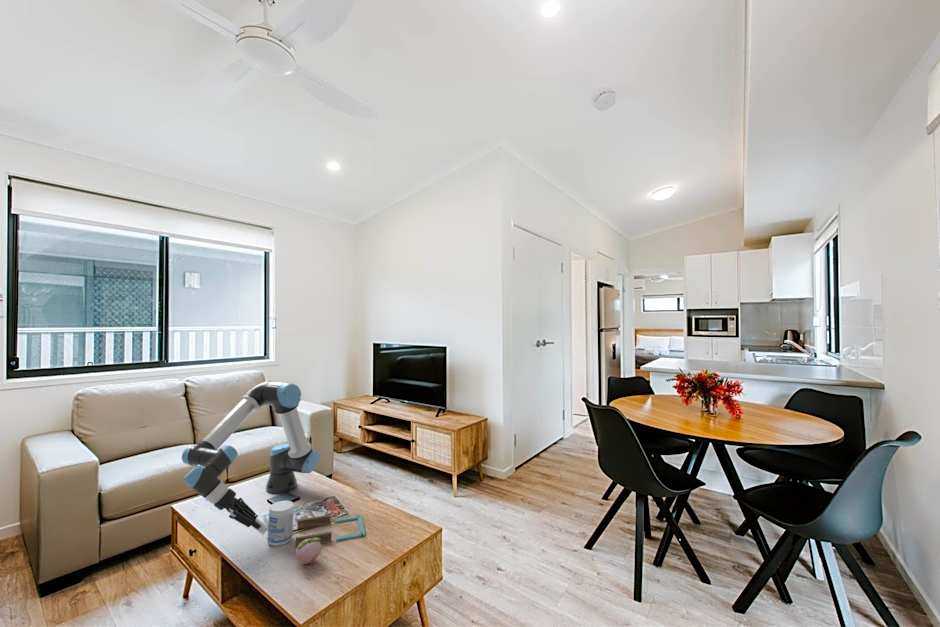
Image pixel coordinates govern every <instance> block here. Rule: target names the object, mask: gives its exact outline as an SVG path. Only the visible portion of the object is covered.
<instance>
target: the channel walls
mask: <svg viewBox="0 0 940 627" xmlns="http://www.w3.org/2000/svg"><path fill="white" fill-rule="evenodd" d="M331 518H332V517H331V514H326V515H319V516H311V517H307V518H301V519H297V522H296V523H297V524H296V525H297V526H296V530H300V528H302V529H307V528H312V527H319V526H326V525H330V524H331V521H332V520H331ZM332 534H333V533H332V531H326V532H321V533H314V534H308V535H303V536H296V537H295V544H294V546H295V549H297V547H298V545H299V544H300V543H301V542H302V541H304V540H306V539H308V538H314V537H317V538H320V539H321V540H319V542H320V544H325V543H331V542H332V537H333V536H332Z"/></svg>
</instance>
